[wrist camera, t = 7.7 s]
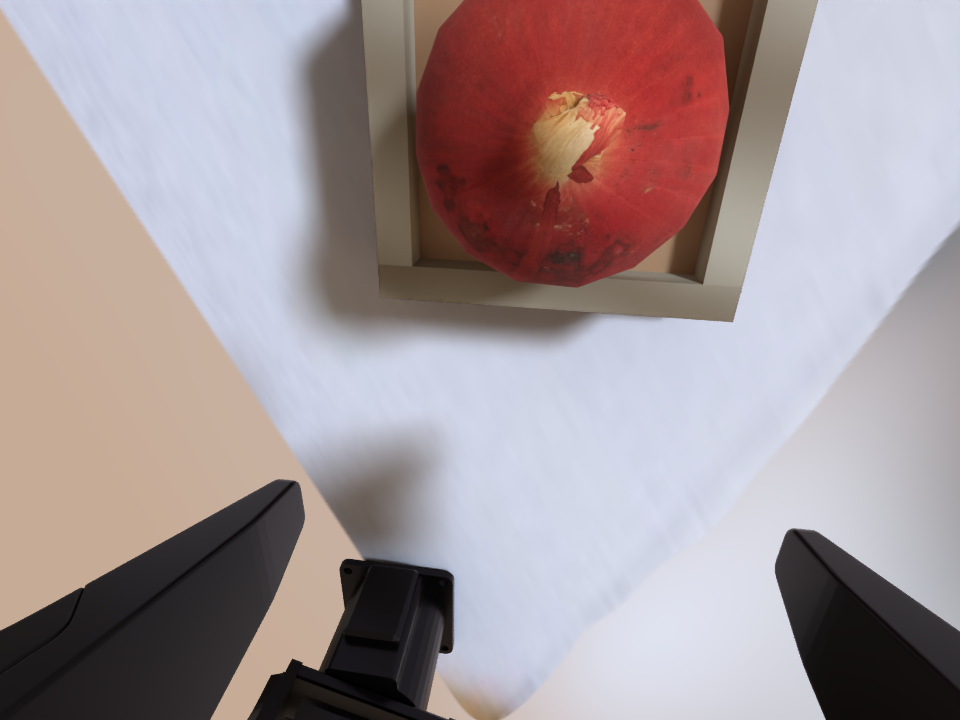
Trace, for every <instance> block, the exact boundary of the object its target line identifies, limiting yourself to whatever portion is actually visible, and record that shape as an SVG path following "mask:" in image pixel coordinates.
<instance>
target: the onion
mask: <svg viewBox="0 0 960 720" xmlns="http://www.w3.org/2000/svg"><path fill="white" fill-rule="evenodd" d="M728 114H729V101H728V89H727V77H726V65H725V54H724V42H723V36H722V35H721V33H720V32H719V30H718V29H717V27H716V26H715V24H714V23H713V21H712V20H711V18H710V17H709V15H708V14H707V13H706V11H705V10H704V8H703V7H702V5H701V4H700V2H699V1H698V0H464V1H463V2H462V3H461V4H460V5H459V6H458V7H457V9H456V10H455V11H454V12H453V13H452V14H451V15H450V16H449V18H448V19H447V20H446V21H445V22H444V23H443V24H442V25H441V27H440V28H439V29H438V32H437V35H436V38H435V41H434V44H433V47H432V49H431V52H430V55H429V58H428V61H427V64H426V67H425V70H424V72H423V75H422V78H421V81H420V84H419V87H418V90H417V93H416V158H417V161H418V164H419V168H420V171H421V174H422V177H423V181H424V184H425V187H426V191H427V194H428V197H429V201H430V204H431V207H432V210H433V211H434V212H435V214H436V215H437V216H438V217H439V219H440V220H441V221H442V223H443V224H444V225H445V226H446V228H447V229H448V230H449V231H450V233H451V234H452V235H453V237H454V238H455V239H456V240H457V242H458V243H459V244H460V246H461V247H462V248H463V249H464V251H465V252H466V253H467V254H469V255H471V256H472V257H474V258H476V259H478V260H479V261H481V262H483V263H485V264H487V265H488V266H490V267H492V268H494V269H495V270H497V271H499V272H501V273H502V274H504V275H506V276H508V277H510V278H511V279H513V280H515V281H517V282H527V283H536V284H545V285H555V286H564V287H573V288H578V287H581V286H584V285H586V284H589V283H592V282H595V281H597V280H600V279H603V278H606V277H609V276H611V275H614V274H617V273H620V272H623V271H626V270H629V269H632V268H634V267H635V266H637V265H638V264H639V263H640V262H642V261H643V260H644V259H645V258H646V257H648V256H649V255H650V254H651V253H653V252H654V251H655V250H656V249H658V248H659V247H660V246H661V245H663V244H664V243H665V242H666V241H668V240H669V239H670V238H671V237H673V236H674V235H675V234H676V233H678V232H679V231H680V230H681V229H683V228H684V226H685V224H686V223H687V221H688V220H689V218H690V216H691V215H692V213H693V212H694V210H695V208H696V207H697V205H698V204H699V202H700V200H701V199H702V197H703V196H704V194H705V192H706V191H707V189H708V188H709V186H710V184H711V183H712V181H713V180H714V178H715V176H716V175H717V170H718V165H719V160H720V155H721V150H722V145H723V139H724V134H725V129H726V124H727V119H728Z"/></svg>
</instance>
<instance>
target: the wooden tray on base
mask: <svg viewBox="0 0 960 720" xmlns="http://www.w3.org/2000/svg"><path fill="white" fill-rule="evenodd" d="M463 1H464V0H361V5H362V21H363V37H364V52H365V68H366V84H367V99H368V115H369V131H370V146H371V162H372V178H373V193H374V209H375V225H376V240H377V256H378V272H379V287H380V298H394V299H408V300H423V301H437V302H451V303H466V304H480V305H495V306H509V307H523V308H538V309H552V310H566V311H581V312H595V313H610V314H624V315H638V316H653V317H667V318H682V319H696V320H710V321H725V322H733V320H734V316H735V312H736V308H737V305H738V301H739V297H740V293H741V290H742V286H743V282H744V278H745V274H746V271H747V267H748V263H749V259H750V256H751V252H752V248H753V244H754V241H755V237H756V233H757V229H758V225H759V222H760V218H761V214H762V210H763V207H764V203H765V199H766V195H767V191H768V188H769V184H770V180H771V176H772V173H773V169H774V165H775V161H776V158H777V154H778V150H779V146H780V142H781V139H782V135H783V131H784V127H785V124H786V120H787V116H788V112H789V108H790V105H791V101H792V97H793V93H794V90H795V86H796V82H797V78H798V75H799V71H800V67H801V63H802V59H803V56H804V52H805V48H806V44H807V41H808V37H809V33H810V29H811V26H812V22H813V18H814V14H815V10H816V7H817V3H818V0H698V1H699V2H700V4H701V5H702V7H703V8H704V10H705V11H706V13H707V14H708V15H709V17H710V18H711V20H712V21H713V23H714V24H715V26H716V27H717V29H718V30H719V32H720V33H721V35H722V36H723V42H724V54H725V65H726V77H727V89H728V101H729V114H728V119H727V124H726V129H725V134H724V139H723V145H722V150H721V155H720V160H719V165H718V170H717V175H716V176H715V178H714V180H713V181H712V183H711V184H710V186H709V188H708V189H707V191H706V192H705V194H704V196H703V197H702V199H701V200H700V202H699V204H698V205H697V207H696V208H695V210H694V212H693V213H692V215H691V216H690V218H689V220H688V221H687V223H686V224H685V226H684V228H683V229H681V230H680V231H679V232H678V233H676V234H675V235H674V236H673V237H671V238H670V239H669V240H668V241H666V242H665V243H664V244H663V245H661V246H660V247H659V248H658V249H656V250H655V251H654V252H653V253H651V254H650V255H649V256H648V257H646V258H645V259H644V260H643V261H642V262H640V263H639V264H638V265H637V266H635V267H634V268H632V269H629V270H626V271H623V272H620V273H617V274H614V275H611V276H609V277H606V278H603V279H600V280H597V281H595V282H592V283H589V284H586V285H584V286H581V287H578V288H573V287H564V286H555V285H545V284H536V283H527V282H517V281H515V280H513V279H511V278H510V277H508V276H506V275H504V274H502V273H501V272H499V271H497V270H495V269H494V268H492V267H490V266H488V265H487V264H485V263H483V262H481V261H479V260H478V259H476V258H474V257H472V256H471V255H469V254H467V253H466V252H465V251H464V249H463V248H462V247H461V246H460V244H459V243H458V242H457V240H456V239H455V238H454V237H453V235H452V234H451V233H450V231H449V230H448V229H447V228H446V226H445V225H444V224H443V223H442V221H441V220H440V219H439V217H438V216H437V215H436V214H435V212H434V211H433V210H432V207H431V204H430V201H429V197H428V194H427V191H426V187H425V184H424V181H423V177H422V174H421V171H420V168H419V164H418V161H417V158H416V93H417V90H418V87H419V84H420V81H421V78H422V75H423V72H424V70H425V67H426V64H427V61H428V58H429V55H430V52H431V49H432V47H433V44H434V41H435V38H436V35H437V32H438V29H439V28H440V27H441V25H442V24H443V23H444V22H445V21H446V20H447V19H448V18H449V16H450V15H451V14H452V13H453V12H454V11H455V10H456V9H457V7H458V6H459V5H460V4H461V3H462V2H463Z"/></svg>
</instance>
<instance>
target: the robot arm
mask: <svg viewBox="0 0 960 720" xmlns="http://www.w3.org/2000/svg"><path fill="white" fill-rule="evenodd" d="M304 520H305V513H304V506H303V500H302V493H301V488H300V485H299V483H298V482H296V481H293V480H282V479H281V480H280V479H278V480H275V481H273V482H271V483H269V484H267V485H266V486H264V487H262V488H260V489H259V490H257V491H255V492H253V493H251V494H249V495H248V496H246V497H244V498H242V499H240V500H238V501H237V502H235V503H233V504H231V505H230V506H228V507H226V508H224V509H222V510H220V511H219V512H217V513H215V514H213V515H212V516H210V517H208V518H206V519H204V520H202V521H201V522H199V523H197V524H195V525H193V526H192V527H190V528H188V529H186V530H185V531H183V532H181V533H179V534H177V535H175V536H173V537H172V538H170V539H168V540H166V541H164V542H163V543H161V544H159V545H157V546H155V547H153V548H152V549H150V550H148V551H147V552H144V553H143V554H141V555H139V556H137V557H135V558H134V559H132V560H130V561H128V562H126V563H125V564H123V565H121V566H119V567H117V568H115V569H114V570H112V571H110V572H108V573H107V574H105V575H103V576H101V577H99V578H97V579H96V580H94V581H92V582H90V583H88V584H87V585H86V586H85V588H79V589H77V590H75V591H74V592H72V593H70V594H68V595H66V596H65V597H63V598H61V599H59V600H58V601H56V602H54V603H52V604H50V605H48V606H46V607H45V608H43V609H41V610H39V611H37V612H35V613H33V614H31V615H30V616H28V617H26V618H24V619H22V620H20V621H18V622H17V623H15V624H13V625H11V626H9V627H7V628H5V629H3V630H1V631H0V720H210V719H211V717H212V715H213V713H214V711H215V710H216V708H217V706H218V704H219V702H220V700H221V698H222V696H223V694H224V692H225V691H226V689H227V687H228V685H229V683H230V681H231V679H232V677H233V675H234V674H235V672H236V670H237V668H238V666H239V664H240V662H241V660H242V658H243V656H244V655H245V653H246V651H247V649H248V647H249V645H250V643H251V641H252V640H253V638H254V636H255V634H256V632H257V630H258V628H259V626H260V624H261V622H262V620H263V619H264V617H265V615H266V613H267V611H268V609H269V607H270V605H271V603H272V601H273V599H274V597H275V594H276V592H277V590H278V587H279V585H280V582H281V580H282V578H283V575H284V572H285V570H286V568H287V565H288V563H289V560H290V558H291V555H292V553H293V550H294V548H295V545H296V543H297V540H298V538H299V535H300V533H301V530H302V528H303V524H304ZM775 574H776V579H777V582H778V585H779V588H780V592H781V595H782V598H783V601H784V605H785V608H786V612H787V615H788V618H789V621H790V625H791V628H792V631H793V635H794V638H795V641H796V644H797V647H798V651H799V654H800V657H801V660H802V663H803V666H804V668H805V670H806V673H807V676H808V678H809V681H810V683H811V686H812V688H813V690H814V692H815V695H816V698H817V700H818V702H819V705H820V707H821V709H822V712H823V714H824V717H825V719H826V720H960V631H958V630H957V629H956V628H954V627H953V626H951V625H950V624H948V623H947V622H946V621H944V620H943V619H941V618H940V617H938V616H937V615H936V614H934V613H932V612H931V611H930V610H928V609H927V608H925V607H924V606H923V605H921V604H920V603H918V602H917V601H915V600H914V599H913V598H911V597H910V596H908V595H907V594H906V593H904V592H902V591H901V590H900V589H898V588H897V587H896V586H894V585H893V584H891V583H890V582H888V581H887V580H885V579H884V578H883V577H881V576H880V575H878V574H877V573H876V572H874V571H872V570H871V569H870V568H868V567H867V566H866V565H864V564H863V563H861V562H860V561H858V560H857V559H855V558H854V557H853V556H851V555H850V554H848V553H847V552H845V551H844V550H843V549H841V548H840V547H838V546H837V545H835V544H834V543H832V542H831V541H830V540H828V539H827V538H825V537H824V536H823V535H821V534H820V533H818V532H816V531H813V530H805V529H795V528H794V529H790V530H788V531H787V532H786V534H785V537H784V540H783V542H782V545H781V548H780V551H779V554H778V557H777V560H776V563H775ZM340 577H341V584H342V592H343V599H344V607H345V611H344V613H343V615H342V618H341V620H340V622H339V625H338V627H337V629H336V632H335V634H334V636H333V639H332V641H331V643H330V646H329V648H328V650H327V653H326V655H325V657H324V660H323V662H322V664H321V667H320V669H319V671H317V670H315V669H312V668H309V667H307V666H304V665H302V662H300V661H297V660H294V659H292V660H291V662H290V664H289V666H288V668H287V670H286V672H283V673H280V674H275V675H271V676H270V678H269V680H268V682H267V684H266V686H265V688H264V690H263V692H262V694H261V696H260V698H259V700H258V702H257V704H256V706H255V707H254V709H253V711H252V713H251V714H250V716H249V718H248V719H247V720H448V719H446V718H443V717H440V716H437V715H435V714H432V713H429V712H427V711H426V709H427V705H428V701H429V696H430V691H431V687H432V682H433V678H434V672H435V668H436V664H437V659H438V654H439V653H444V654H448V653H451V652H452V650H453V645H454V576H453V575H452V574H451V573H449V572H446V571H440V570H432V569H424V568H416V567H409V566H401V565H393V564H385V563H378V562H370V561H362V560H354V559H345V560H344V561H343V562H342V564H341V566H340ZM444 580H445V581H444ZM449 720H454V719H452V718H449Z"/></svg>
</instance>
